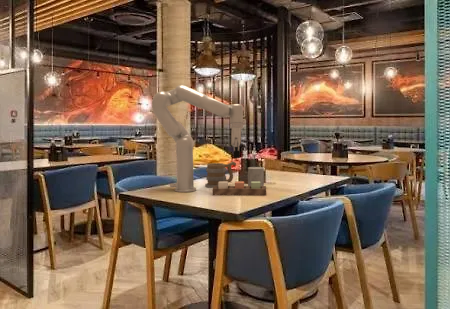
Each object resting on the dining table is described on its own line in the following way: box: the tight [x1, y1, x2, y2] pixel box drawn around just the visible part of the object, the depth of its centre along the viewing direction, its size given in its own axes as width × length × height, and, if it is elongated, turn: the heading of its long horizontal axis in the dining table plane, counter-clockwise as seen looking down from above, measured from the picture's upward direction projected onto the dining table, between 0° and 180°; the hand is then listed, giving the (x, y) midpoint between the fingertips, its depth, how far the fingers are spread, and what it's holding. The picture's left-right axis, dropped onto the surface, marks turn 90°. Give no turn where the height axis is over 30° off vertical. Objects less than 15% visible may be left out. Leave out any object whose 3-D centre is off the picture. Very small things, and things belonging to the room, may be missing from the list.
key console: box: [211, 185, 267, 196], centre depth 227 cm, size 29×10×4 cm, turn 86°
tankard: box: [204, 161, 237, 189], centre depth 253 cm, size 20×13×15 cm, turn 112°
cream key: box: [218, 181, 229, 188], centre depth 227 cm, size 5×5×4 cm
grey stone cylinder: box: [247, 166, 265, 186], centre depth 244 cm, size 10×10×12 cm
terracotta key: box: [234, 180, 245, 189], centre depth 227 cm, size 5×5×4 cm
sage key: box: [251, 181, 260, 189], centre depth 226 cm, size 5×5×4 cm
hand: (236, 157), depth 237 cm, fingers open, 2 cm apart
